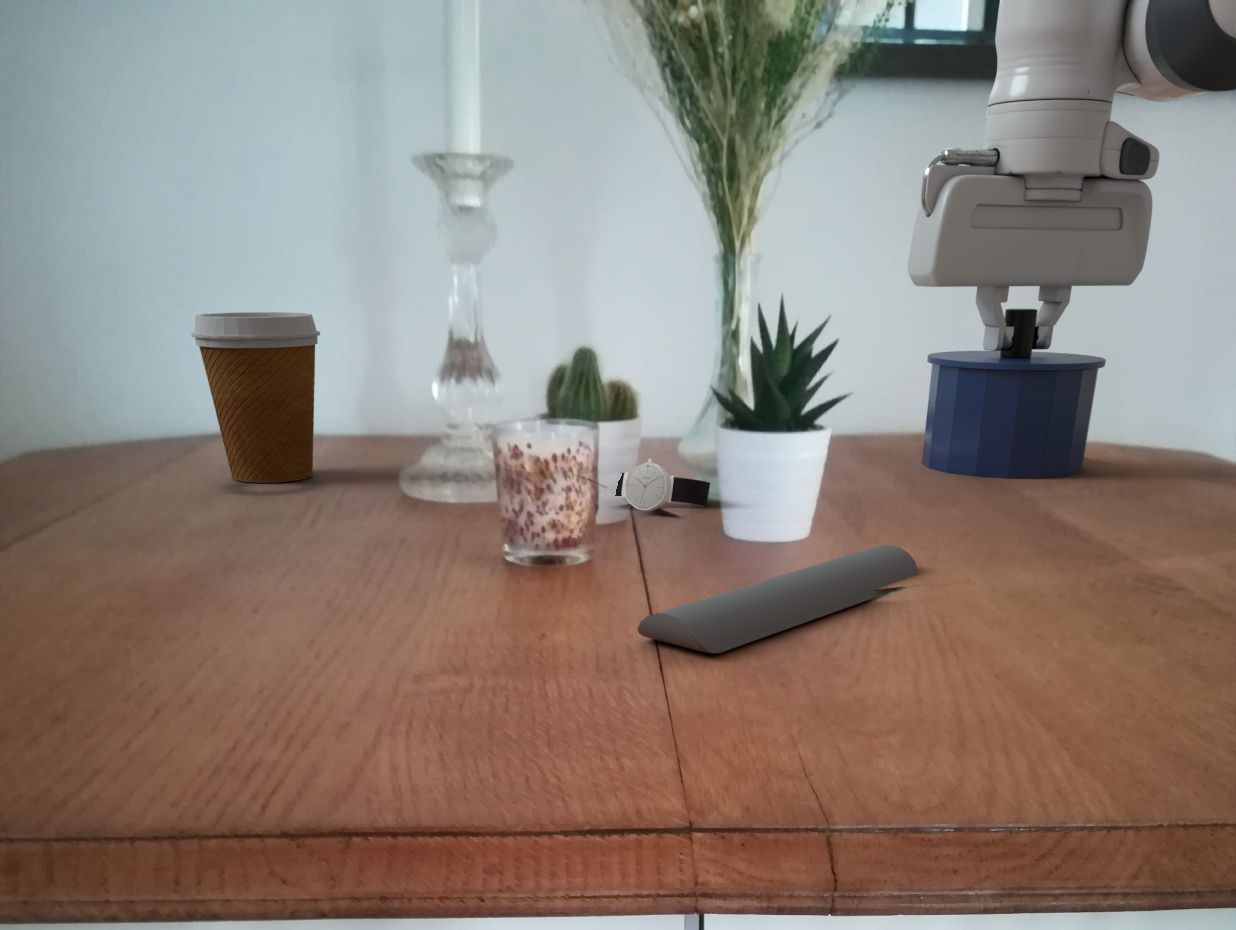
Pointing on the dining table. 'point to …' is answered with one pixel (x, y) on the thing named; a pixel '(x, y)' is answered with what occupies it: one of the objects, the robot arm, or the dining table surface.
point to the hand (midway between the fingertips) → (1016, 349)
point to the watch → (659, 488)
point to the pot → (1008, 422)
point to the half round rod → (780, 601)
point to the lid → (1018, 352)
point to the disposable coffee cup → (262, 390)
